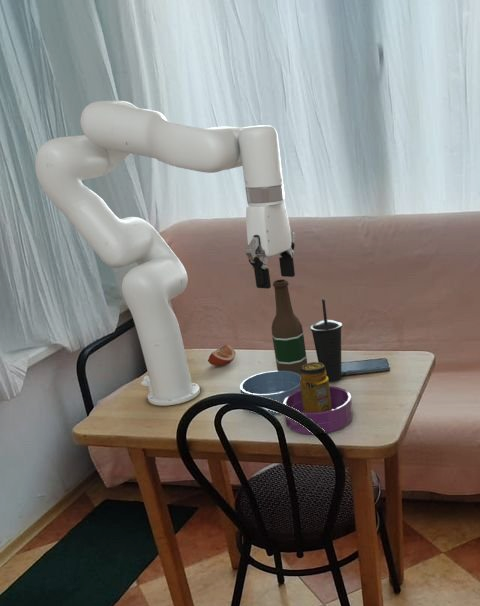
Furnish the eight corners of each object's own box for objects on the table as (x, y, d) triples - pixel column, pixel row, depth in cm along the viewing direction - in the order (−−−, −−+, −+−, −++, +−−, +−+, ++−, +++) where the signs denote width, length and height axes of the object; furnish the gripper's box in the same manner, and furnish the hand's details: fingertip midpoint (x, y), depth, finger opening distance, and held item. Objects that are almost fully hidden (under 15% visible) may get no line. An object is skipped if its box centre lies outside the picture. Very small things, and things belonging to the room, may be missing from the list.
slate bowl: (231, 411, 144) (227, 391, 142) (264, 387, 155) (261, 368, 153) (285, 418, 138) (282, 397, 136) (316, 393, 150) (313, 373, 147)
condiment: (331, 409, 140) (326, 358, 134) (339, 425, 132) (333, 371, 127) (299, 414, 139) (292, 363, 133) (304, 431, 131) (297, 377, 125)
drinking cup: (340, 386, 152) (332, 304, 142) (311, 383, 155) (301, 303, 145) (351, 374, 158) (344, 295, 149) (323, 372, 161) (315, 294, 151)
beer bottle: (307, 380, 157) (294, 283, 146) (276, 382, 158) (261, 286, 146) (309, 368, 164) (298, 275, 152) (280, 370, 165) (266, 278, 153)
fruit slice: (221, 359, 176) (218, 342, 174) (242, 360, 174) (239, 343, 171) (204, 370, 169) (201, 352, 167) (226, 371, 167) (222, 353, 165)
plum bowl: (274, 431, 133) (270, 409, 131) (306, 403, 145) (303, 383, 142) (334, 439, 128) (332, 417, 125) (363, 410, 139) (361, 389, 137)
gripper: (272, 189, 134) (282, 271, 142) (224, 202, 120) (238, 291, 128) (303, 189, 131) (311, 273, 139) (257, 202, 117) (269, 293, 126)
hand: (276, 281), depth 134 cm, fingers open, 9 cm apart
